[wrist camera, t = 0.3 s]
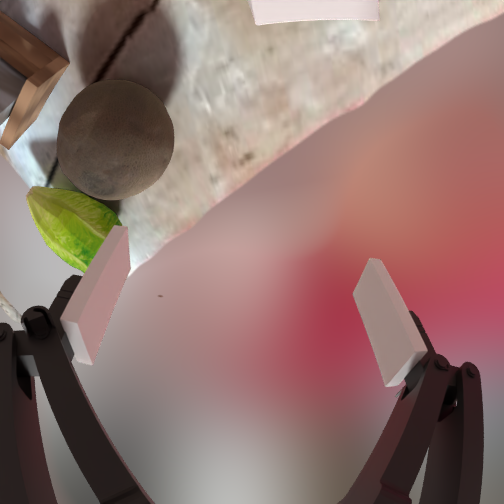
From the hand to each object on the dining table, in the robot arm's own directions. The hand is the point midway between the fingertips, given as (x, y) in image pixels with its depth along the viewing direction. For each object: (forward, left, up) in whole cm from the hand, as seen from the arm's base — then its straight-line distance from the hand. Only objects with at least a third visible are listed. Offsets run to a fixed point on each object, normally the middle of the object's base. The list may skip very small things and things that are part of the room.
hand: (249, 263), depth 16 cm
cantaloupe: (+15, -7, -28) cm, 32 cm away
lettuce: (+37, -3, -28) cm, 46 cm away
